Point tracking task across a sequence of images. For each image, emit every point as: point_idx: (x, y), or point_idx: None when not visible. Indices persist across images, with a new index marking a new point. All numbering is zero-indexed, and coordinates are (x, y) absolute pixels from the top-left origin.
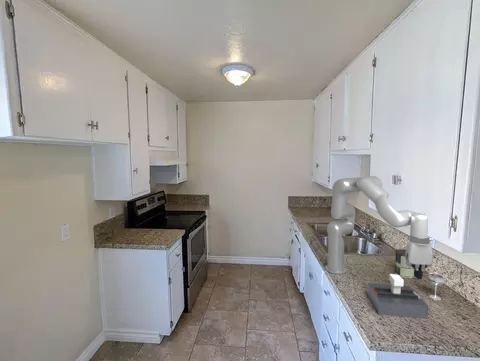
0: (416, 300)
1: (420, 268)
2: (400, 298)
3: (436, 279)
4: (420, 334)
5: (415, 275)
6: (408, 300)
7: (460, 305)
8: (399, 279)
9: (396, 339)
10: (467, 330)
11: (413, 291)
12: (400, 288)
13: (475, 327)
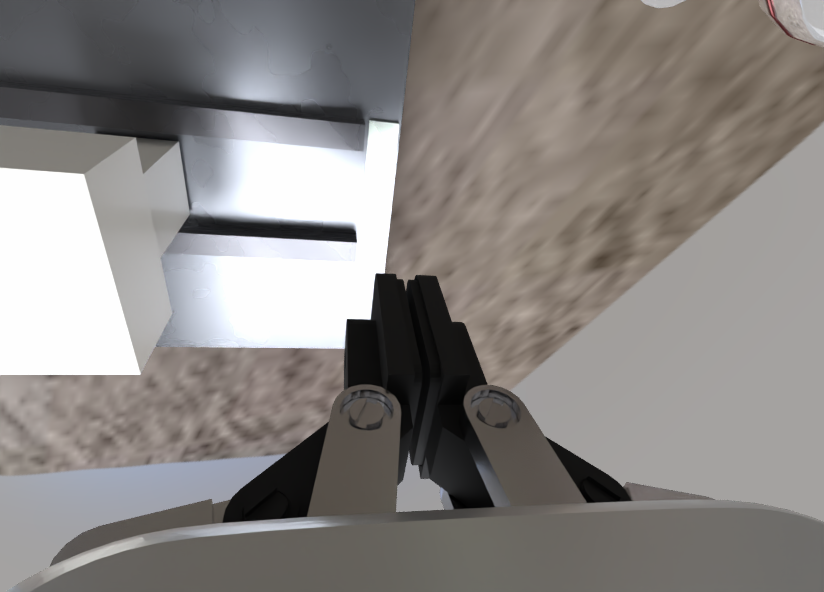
0: (319, 288)
1: (449, 484)
2: (175, 270)
3: (821, 21)
4: (251, 412)
5: (344, 369)
6: (244, 294)
7: (752, 97)
8: (74, 357)
9: (112, 455)
10: (516, 356)
11: (386, 109)
12: (163, 250)
13: (580, 330)
